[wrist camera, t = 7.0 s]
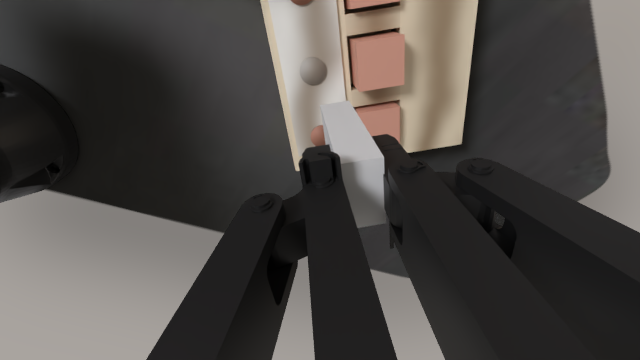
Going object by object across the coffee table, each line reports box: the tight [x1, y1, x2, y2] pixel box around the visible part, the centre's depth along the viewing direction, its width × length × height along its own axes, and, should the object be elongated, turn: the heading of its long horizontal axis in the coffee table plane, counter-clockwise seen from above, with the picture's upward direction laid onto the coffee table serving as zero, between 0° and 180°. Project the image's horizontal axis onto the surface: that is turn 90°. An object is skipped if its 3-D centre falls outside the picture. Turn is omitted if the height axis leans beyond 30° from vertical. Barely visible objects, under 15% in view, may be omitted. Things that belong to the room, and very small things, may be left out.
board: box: [260, 0, 478, 171], centre depth 31 cm, size 20×22×4 cm
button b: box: [349, 32, 405, 92], centre depth 29 cm, size 4×4×4 cm
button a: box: [353, 101, 400, 144], centre depth 34 cm, size 4×4×4 cm
